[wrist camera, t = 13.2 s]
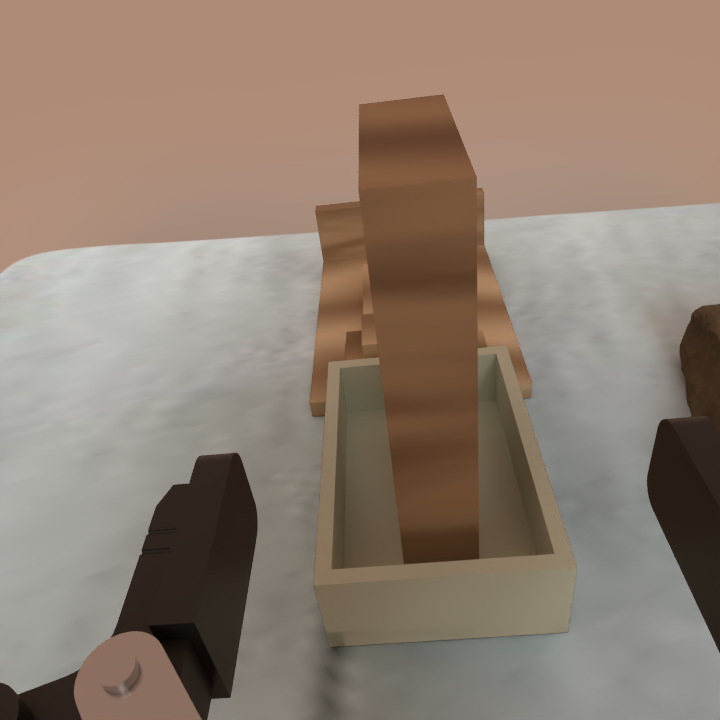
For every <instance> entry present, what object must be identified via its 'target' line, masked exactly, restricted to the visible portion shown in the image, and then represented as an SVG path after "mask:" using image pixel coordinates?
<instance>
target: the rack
mask: <svg viewBox="0 0 720 720" xmlns="http://www.w3.org/2000/svg"><path fill="white" fill-rule="evenodd" d="M315 212H316V218H317V225H318V231H319V237H320V243H321V249H322V255H323V261H324V263H323V273H322V283H321V293H320V304H319V314H318V324H317V334H316V344H315V355H314V365H313V375H312V385H311V395H310V406H311V411H312V416H322V415H325V408H326V393H327V378H328V363H329V362H334V361H345V360H356V359H366V358H377V357H379V355H378V346H377V338H376V330H375V321H374V313H373V305H372V297H371V288H370V280H369V272H368V264H367V255H366V247H365V239H364V231H363V222H362V214H361V206H360V201H359V202H349V203H340V204H330V205H321V206H316V211H315ZM477 323H478V348H485V347H496V346H507V349H508V352H509V355H510V358H511V362H512V365H513V368H514V371H515V374H516V377H517V380H518V384H519V387H520V390H521V393H522V396H523V398H530V397H531V391H532V382H531V379H530V376H529V373H528V370H527V367H526V364H525V362H524V359H523V356H522V353H521V350H520V347H519V344H518V341H517V338H516V336H515V333H514V330H513V327H512V324H511V321H510V318H509V315H508V312H507V310H506V307H505V304H504V301H503V298H502V295H501V292H500V289H499V286H498V284H497V281H496V278H495V275H494V272H493V269H492V266H491V263H490V260H489V258H488V255H487V252H486V249H485V246H484V192H483V189H482V188H477Z"/></svg>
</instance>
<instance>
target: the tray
mask: <svg viewBox="0 0 720 720" xmlns="http://www.w3.org/2000/svg"><path fill="white" fill-rule="evenodd" d="M478 468H479V559H475V560H461V561H446V562H432V563H418V564H404V561H403V553H402V545H401V536H400V528H399V520H398V512H397V503H396V495H395V487H394V478H393V470H392V462H391V454H390V445H389V437H388V429H387V421H386V412H385V404H384V396H383V388H382V379H381V371H380V363H379V357H377V358H366V359H356V360H345V361H334V362H329V363H328V378H327V393H326V408H325V423H324V438H323V453H322V468H321V483H320V498H319V513H318V528H317V543H316V558H315V573H314V589H315V592H316V596H317V600H318V604H319V608H320V611H321V615H322V619H323V623H324V626H325V630H326V634H327V638H328V641H329V645H330V647H338V646H354V645H370V644H386V643H403V642H419V641H435V640H451V639H468V638H484V637H500V636H516V635H533V634H549V633H565V632H568V628H569V621H570V614H571V607H572V600H573V593H574V586H575V579H576V572H577V566H576V563H575V559H574V556H573V553H572V550H571V547H570V544H569V541H568V537H567V534H566V531H565V528H564V525H563V522H562V519H561V516H560V512H559V509H558V506H557V503H556V500H555V497H554V494H553V490H552V487H551V484H550V481H549V478H548V475H547V472H546V468H545V465H544V462H543V459H542V456H541V453H540V450H539V446H538V443H537V440H536V437H535V434H534V431H533V428H532V424H531V421H530V418H529V415H528V412H527V409H526V406H525V402H524V399H523V396H522V393H521V390H520V387H519V384H518V380H517V377H516V374H515V371H514V368H513V365H512V362H511V358H510V355H509V352H508V349H507V346H496V347H485V348H478Z"/></svg>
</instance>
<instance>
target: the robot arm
mask: <svg viewBox="0 0 720 720" xmlns="http://www.w3.org/2000/svg"><path fill="white" fill-rule="evenodd" d="M647 488H648V495H649V499H650V503H651V506H652V508H653V511H654V513H655V515H656V517H657V519H658V521H659V524H660V526H661V528H662V530H663V532H664V534H665V536H666V539H667V541H668V543H669V545H670V547H671V549H672V551H673V554H674V556H675V558H676V560H677V562H678V564H679V566H680V569H681V571H682V573H683V575H684V577H685V579H686V581H687V584H688V586H689V588H690V590H691V592H692V594H693V596H694V599H695V601H696V603H697V605H698V607H699V609H700V611H701V614H702V616H703V618H704V620H705V622H706V624H707V626H708V629H709V631H710V633H711V635H712V637H713V639H714V641H715V644H716V646H717V648H718V650H719V652H720V433H719V431H718V430H717V428H716V427H715V425H714V424H713V422H712V421H711V420H710V419H709V418H708V417H705V416H700V417H687V418H675V419H664V420H662V421H661V422H660V423H659V426H658V429H657V434H656V439H655V443H654V448H653V452H652V457H651V462H650V466H649V471H648V476H647ZM148 531H149V534H148V535H147V536H146V539H145V542H144V545H143V548H142V555H140V557H139V560H138V563H137V566H136V569H135V572H134V575H133V578H132V581H131V584H130V587H129V590H128V593H127V596H126V599H125V602H124V605H123V608H122V611H121V614H120V617H119V620H118V623H117V626H116V628H115V630H114V633H113V635H112V637H111V638H110V639H108V640H106V641H105V642H103V643H102V644H101V645H99V646H98V647H97V648H96V649H95V650H94V651H93V652H92V653H91V654H90V655H89V656H88V657H87V658H86V660H85V661H84V663H83V664H82V666H81V668H80V669H79V670H78V671H76V672H74V673H72V674H70V675H68V676H66V677H63V678H61V679H58V680H55V681H53V682H50V683H47V684H45V685H42V686H40V687H37V688H34V689H32V690H29V691H26V692H24V693H21V694H18V695H17V694H16V692H15V691H14V690H13V689H12V688H11V687H9V686H8V685H6V684H3V683H0V720H207V718H208V713H209V707H210V702H211V699H216V698H230V697H231V691H232V685H233V679H234V672H235V666H236V660H237V654H238V648H239V642H240V636H241V630H242V623H243V617H244V611H245V605H246V599H247V593H248V587H249V580H250V574H251V568H252V562H253V556H254V550H255V544H256V537H257V510H256V505H255V501H254V498H253V495H252V492H251V489H250V486H249V482H248V479H247V476H246V473H245V470H244V467H243V463H242V460H241V458H240V456H239V454H238V453H229V454H216V455H204V456H199V457H198V458H197V460H196V463H195V466H194V469H193V473H192V476H191V479H190V483H189V484H178V485H173V486H172V487H171V489H170V490H169V491H168V492H167V494H166V495H165V496H164V497H163V499H162V500H161V501H160V502H159V504H158V505H157V506H156V508H155V511H154V514H153V517H152V520H151V523H150V527H149V530H148Z"/></svg>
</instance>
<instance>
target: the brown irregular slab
mask: <svg viewBox="0 0 720 720" xmlns="http://www.w3.org/2000/svg"><path fill="white" fill-rule="evenodd" d="M680 358H681V363H682V368H681V369H682V371H683V373H684V375H685V377H686V395H687V403H688V405H689V408H690V411H691V413H692V417H700V416H705V417H708V418H709V419H710V420H711V421H712V422H713V424H714V425H715V427H716V428H717V430H718V431H719V433H720V304H718V305H708V306H702V307H700V308H698V309H697V310H695V311H694V312H693V313H692V316H691V321H690V323H689V324H688V326H687V329H686V332H685V334H684V336H683V339H682V342H681V344H680Z"/></svg>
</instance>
